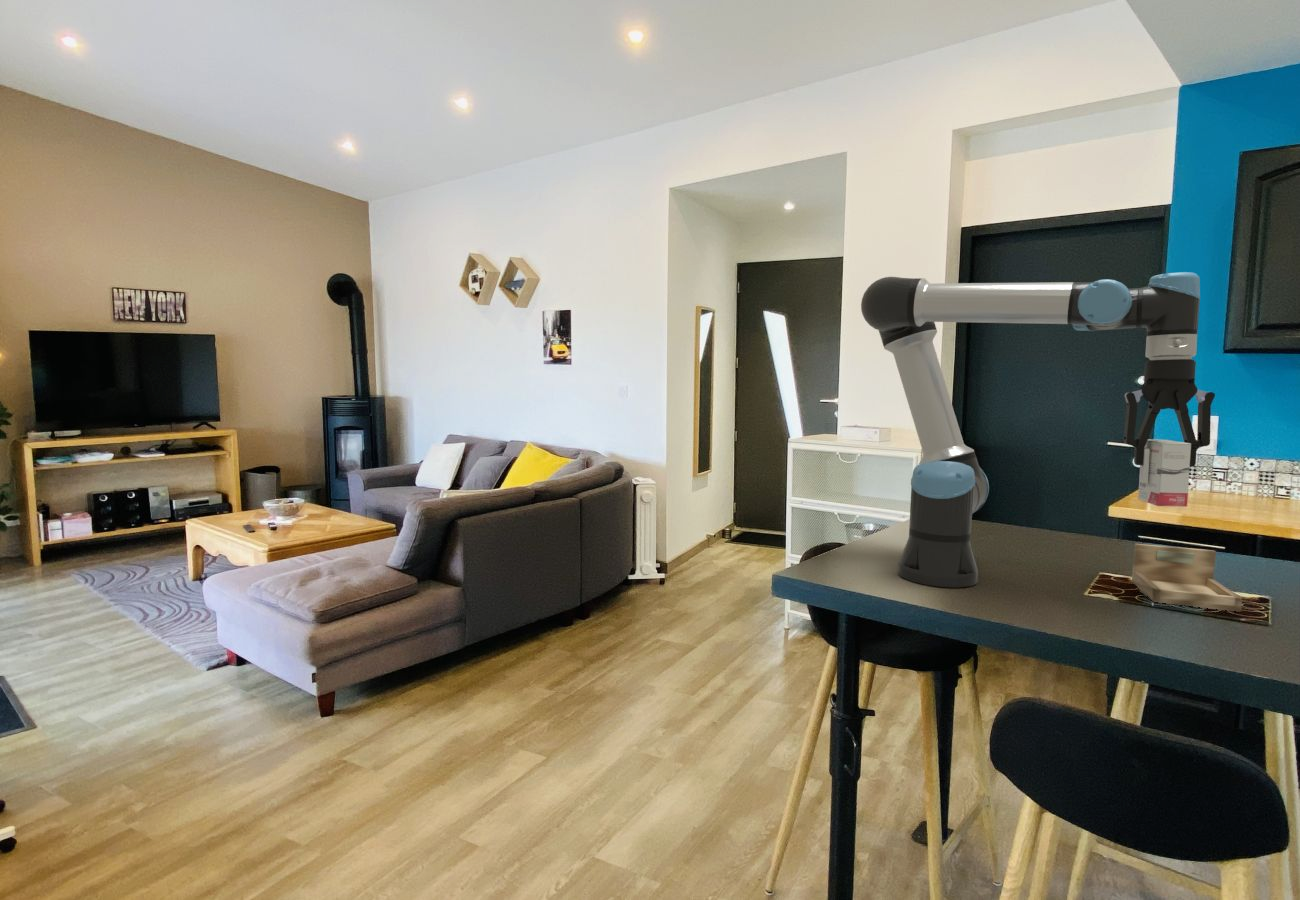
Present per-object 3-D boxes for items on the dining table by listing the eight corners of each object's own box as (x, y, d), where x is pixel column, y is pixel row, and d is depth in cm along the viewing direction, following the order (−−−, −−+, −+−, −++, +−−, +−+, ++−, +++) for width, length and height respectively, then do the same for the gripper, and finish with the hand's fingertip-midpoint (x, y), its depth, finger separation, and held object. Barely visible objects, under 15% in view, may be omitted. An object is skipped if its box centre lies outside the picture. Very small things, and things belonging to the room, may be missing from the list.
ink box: (1190, 507, 123) (1192, 441, 122) (1158, 507, 125) (1160, 442, 124) (1166, 499, 132) (1168, 438, 131) (1136, 499, 133) (1138, 438, 132)
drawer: (1153, 602, 126) (1157, 560, 125) (1131, 581, 139) (1135, 543, 138) (1240, 612, 121) (1245, 568, 120) (1209, 589, 134) (1213, 550, 133)
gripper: (1116, 359, 126) (1109, 483, 128) (1241, 356, 119) (1232, 488, 121) (1106, 360, 133) (1100, 478, 135) (1224, 358, 126) (1216, 482, 128)
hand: (1163, 482), depth 128 cm, fingers closed on ink box, 5 cm apart
